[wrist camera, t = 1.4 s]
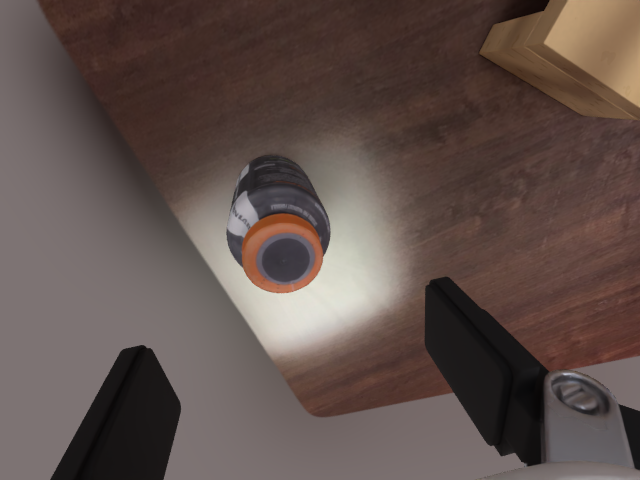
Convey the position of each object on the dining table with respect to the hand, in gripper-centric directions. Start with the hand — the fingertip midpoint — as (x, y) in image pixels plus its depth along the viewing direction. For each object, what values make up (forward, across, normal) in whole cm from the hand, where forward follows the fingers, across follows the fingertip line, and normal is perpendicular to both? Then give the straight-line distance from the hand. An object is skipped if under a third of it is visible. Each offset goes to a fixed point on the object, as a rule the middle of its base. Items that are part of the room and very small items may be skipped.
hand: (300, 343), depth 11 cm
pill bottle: (+17, 0, -1) cm, 17 cm away
